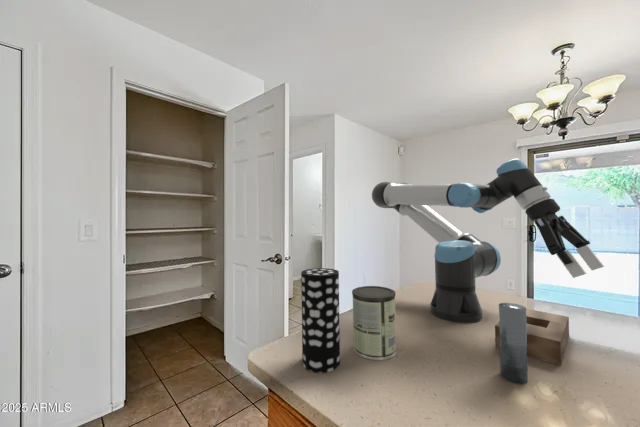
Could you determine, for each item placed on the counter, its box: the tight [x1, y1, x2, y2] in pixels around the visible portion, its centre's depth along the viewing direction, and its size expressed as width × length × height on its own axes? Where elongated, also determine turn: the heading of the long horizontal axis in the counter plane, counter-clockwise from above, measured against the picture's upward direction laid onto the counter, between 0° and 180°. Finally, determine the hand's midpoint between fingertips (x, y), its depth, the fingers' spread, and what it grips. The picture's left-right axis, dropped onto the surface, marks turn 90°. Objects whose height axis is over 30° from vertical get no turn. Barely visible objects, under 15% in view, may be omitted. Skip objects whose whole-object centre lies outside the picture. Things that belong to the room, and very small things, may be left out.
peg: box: [498, 302, 529, 385], centre depth 53 cm, size 4×4×14 cm
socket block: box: [494, 308, 570, 366], centre depth 69 cm, size 12×20×5 cm, turn 134°
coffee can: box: [351, 285, 397, 361], centre depth 65 cm, size 10×10×14 cm
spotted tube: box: [300, 267, 341, 374], centre depth 60 cm, size 8×8×20 cm
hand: (589, 272), depth 71 cm, fingers open, 13 cm apart
